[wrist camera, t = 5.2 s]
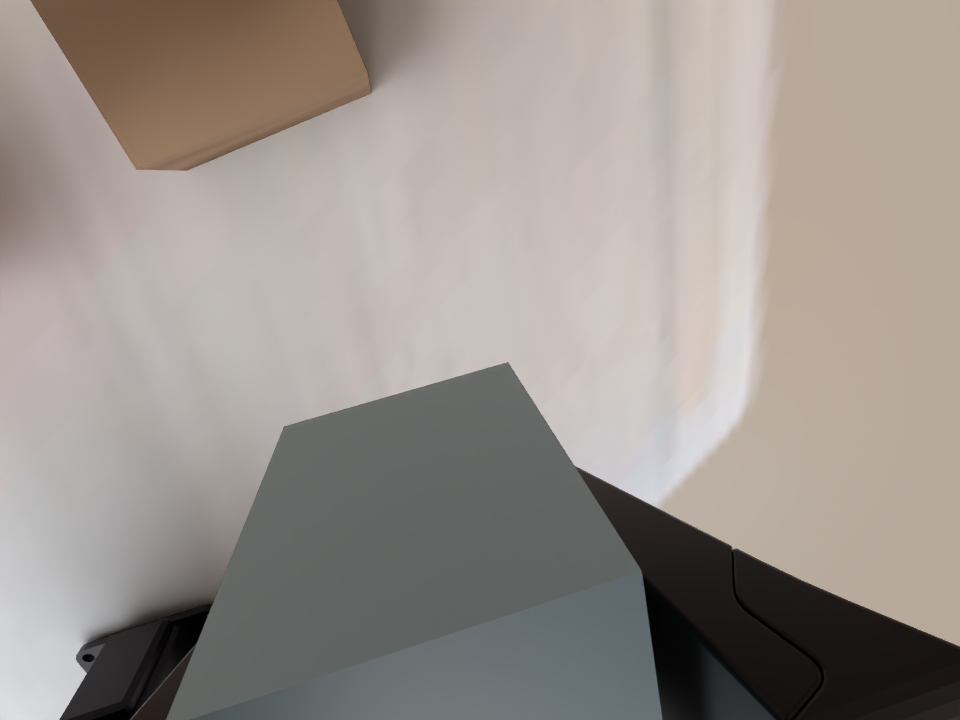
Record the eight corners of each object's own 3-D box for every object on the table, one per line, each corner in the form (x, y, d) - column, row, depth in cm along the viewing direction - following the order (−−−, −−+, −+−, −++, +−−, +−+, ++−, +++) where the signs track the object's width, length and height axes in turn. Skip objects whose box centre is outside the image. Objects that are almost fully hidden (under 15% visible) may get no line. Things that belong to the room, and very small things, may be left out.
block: (547, 534, 10) (677, 828, 6) (358, 595, 10) (335, 955, 5) (508, 362, 9) (641, 571, 4) (284, 426, 8) (161, 728, 4)
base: (371, 94, 18) (367, 72, 14) (188, 170, 18) (136, 169, 14) (269, -151, 15) (231, -255, 11) (51, -63, 15) (-58, -141, 11)
